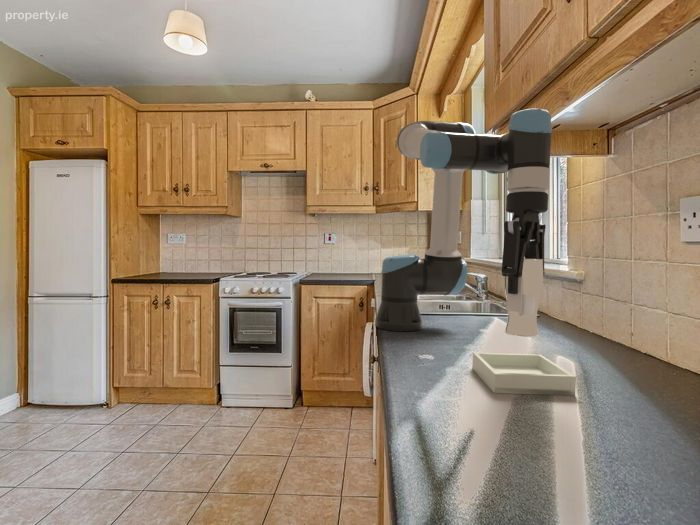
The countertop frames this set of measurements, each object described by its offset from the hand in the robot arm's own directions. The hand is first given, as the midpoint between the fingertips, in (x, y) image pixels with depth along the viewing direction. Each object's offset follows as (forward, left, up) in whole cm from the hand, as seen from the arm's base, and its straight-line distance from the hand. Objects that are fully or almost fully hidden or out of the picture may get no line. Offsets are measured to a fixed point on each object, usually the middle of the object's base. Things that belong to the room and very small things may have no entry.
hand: (522, 308), depth 81 cm
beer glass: (0, 0, -5) cm, 5 cm away
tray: (0, 0, -15) cm, 15 cm away
